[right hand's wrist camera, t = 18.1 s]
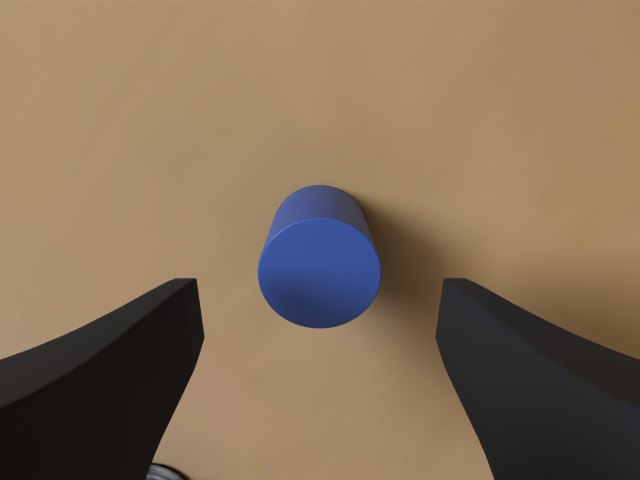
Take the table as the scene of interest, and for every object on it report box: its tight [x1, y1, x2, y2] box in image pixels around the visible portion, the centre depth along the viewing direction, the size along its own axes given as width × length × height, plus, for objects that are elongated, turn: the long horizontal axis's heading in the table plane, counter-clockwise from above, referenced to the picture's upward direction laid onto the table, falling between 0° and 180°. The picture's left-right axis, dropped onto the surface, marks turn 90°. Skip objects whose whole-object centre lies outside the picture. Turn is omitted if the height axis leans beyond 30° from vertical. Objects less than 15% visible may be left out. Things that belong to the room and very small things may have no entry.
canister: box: [258, 185, 382, 328], centre depth 15 cm, size 4×4×5 cm
